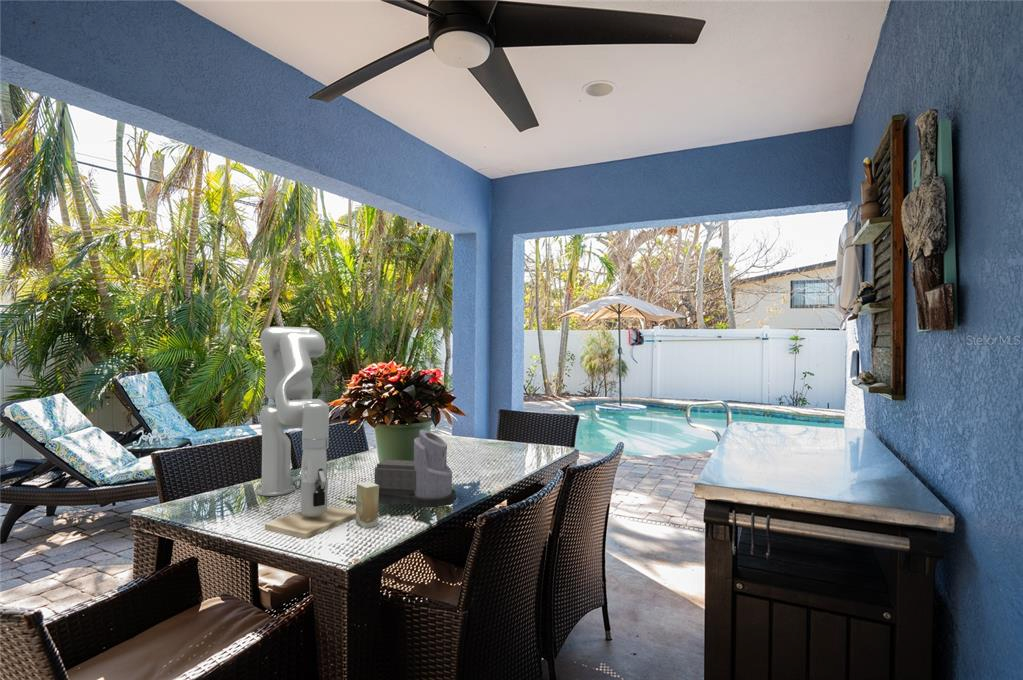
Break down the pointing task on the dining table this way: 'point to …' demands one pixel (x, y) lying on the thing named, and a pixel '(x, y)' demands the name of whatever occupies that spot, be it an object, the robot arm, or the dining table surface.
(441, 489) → the juicer
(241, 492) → the dining table surface
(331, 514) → the oak board
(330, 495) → the dining table surface
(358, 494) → the skincare box
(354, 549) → the dining table surface
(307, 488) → the can
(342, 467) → the dining table surface
